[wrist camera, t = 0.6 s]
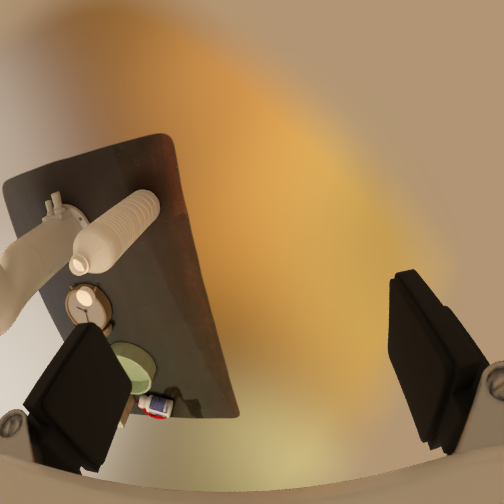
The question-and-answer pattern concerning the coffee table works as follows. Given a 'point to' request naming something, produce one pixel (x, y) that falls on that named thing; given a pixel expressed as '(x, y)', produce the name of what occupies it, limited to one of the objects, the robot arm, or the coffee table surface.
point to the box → (126, 411)
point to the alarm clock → (90, 309)
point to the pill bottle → (156, 405)
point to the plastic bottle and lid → (111, 237)
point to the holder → (136, 366)
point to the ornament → (151, 413)
